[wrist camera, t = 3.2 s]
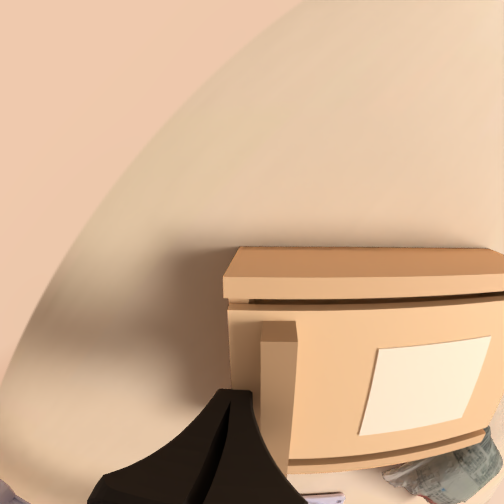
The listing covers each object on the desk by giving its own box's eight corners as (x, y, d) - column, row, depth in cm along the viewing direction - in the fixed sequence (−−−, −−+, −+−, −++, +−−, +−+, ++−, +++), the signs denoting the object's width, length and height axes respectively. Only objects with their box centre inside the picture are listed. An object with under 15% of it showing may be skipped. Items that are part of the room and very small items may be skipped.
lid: (483, 421, 13) (498, 442, 10) (237, 449, 14) (232, 480, 12) (528, 292, 11) (554, 307, 9) (229, 303, 12) (219, 329, 10)
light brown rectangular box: (451, 397, 17) (481, 442, 12) (244, 412, 18) (235, 472, 13) (488, 248, 15) (542, 271, 10) (239, 246, 16) (222, 276, 11)
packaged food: (425, 494, 20) (437, 527, 16) (375, 458, 19) (389, 503, 14) (494, 444, 19) (514, 474, 14) (466, 392, 18) (495, 431, 13)
